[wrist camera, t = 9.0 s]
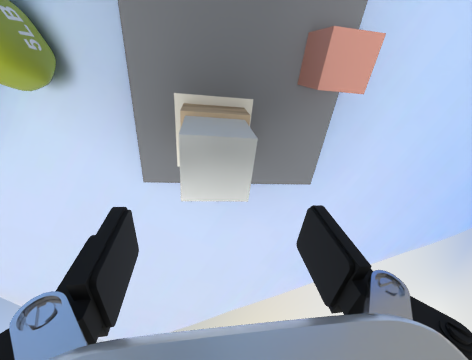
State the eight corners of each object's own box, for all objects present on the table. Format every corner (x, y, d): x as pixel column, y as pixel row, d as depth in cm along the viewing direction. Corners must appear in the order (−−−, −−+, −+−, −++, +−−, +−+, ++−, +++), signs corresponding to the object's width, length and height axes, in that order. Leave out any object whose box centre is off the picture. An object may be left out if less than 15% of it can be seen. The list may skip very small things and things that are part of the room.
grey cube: (185, 115, 20) (178, 134, 15) (244, 119, 21) (257, 138, 16) (186, 169, 23) (181, 201, 18) (238, 171, 24) (248, 201, 19)
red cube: (308, 32, 22) (334, 25, 18) (351, 38, 23) (386, 33, 18) (297, 84, 24) (317, 89, 20) (336, 88, 25) (363, 94, 21)
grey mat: (112, -47, 18) (110, -49, 17) (365, -2, 21) (368, -3, 21) (144, 180, 28) (143, 182, 28) (309, 183, 32) (310, 184, 32)
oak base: (183, 103, 24) (180, 110, 20) (244, 107, 25) (250, 115, 21) (185, 159, 27) (182, 174, 24) (238, 161, 28) (242, 175, 25)
